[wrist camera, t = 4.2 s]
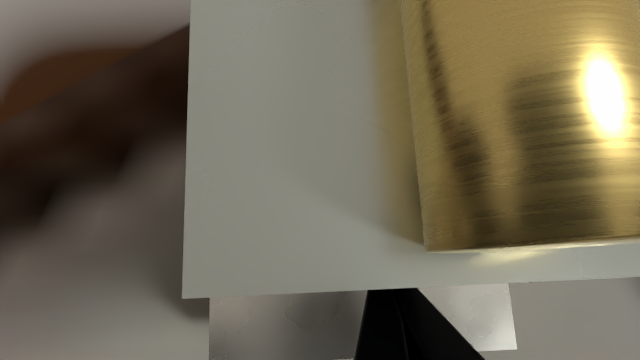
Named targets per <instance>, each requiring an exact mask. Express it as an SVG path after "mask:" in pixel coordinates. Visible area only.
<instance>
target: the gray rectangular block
mask: <svg viewBox="0 0 640 360" xmlns="http://www.w3.org/2000/svg"><path fill="white" fill-rule="evenodd" d="M418 289H419V290H420V291H421V292H422V293H423V294H424V295H425V296H426V297H427V298H428V300H429V301H430V302H431V303H432V304H433V305H434V306H435V307H436V308H437V309H438V310H439V311H440V312H441V313H442V314H443V315H444V317H445V318H446V319H447V320H448V321H449V322H450V323H451V324H452V325H453V326H454V327H455V328H456V329H457V330H458V331H459V333H460V334H461V335H462V336H463V337H464V338H465V339H466V340H467V341H468V342H469V343H470V344H471V345H472V346H473V347H474V348H475V350H476V351H494V350H512V349H517V345H516V338H515V330H514V323H513V316H512V308H511V301H510V293H509V286H508V283H501V284H480V285H459V286H439V287H418ZM366 295H367V290H356V291H335V292H315V293H294V294H273V295H253V296H232V297H211V298H210V319H209V360H333V359H351V358H354V356H355V351H356V346H357V341H358V336H359V331H360V326H361V320H362V315H363V310H364V305H365V300H366Z"/></svg>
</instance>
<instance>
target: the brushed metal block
mask: <svg viewBox="0 0 640 360" xmlns="http://www.w3.org/2000/svg"><path fill="white" fill-rule="evenodd" d="M625 277H640V0H191V10H190V42H189V76H188V109H187V143H186V176H185V209H184V243H183V276H182V299H191V298H211V297H232V296H253V295H273V294H294V293H315V292H335V291H356V290H377V289H397V288H418V287H439V286H459V285H480V284H501V283H521V282H542V281H563V280H584V279H604V278H625Z"/></svg>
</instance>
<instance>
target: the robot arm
mask: <svg viewBox="0 0 640 360" xmlns="http://www.w3.org/2000/svg"><path fill="white" fill-rule="evenodd" d="M354 360H485V359H484V358H483V357H482V356H481V355H480V354H479V353H478V352H477V351H476V350H475V348H474V347H473V346H472V345H471V344H470V343H469V342H468V341H467V340H466V339H465V338H464V337H463V336H462V335H461V334H460V333H459V331H458V330H457V329H456V328H455V327H454V326H453V325H452V324H451V323H450V322H449V321H448V320H447V319H446V318H445V317H444V315H443V314H442V313H441V312H440V311H439V310H438V309H437V308H436V307H435V306H434V305H433V304H432V303H431V302H430V301H429V300H428V298H427V297H426V296H425V295H424V294H423V293H422V292H421V291H420V290H419V289H418V288H397V289H377V290H367V295H366V300H365V305H364V310H363V315H362V320H361V326H360V331H359V336H358V341H357V346H356V351H355V356H354Z"/></svg>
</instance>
